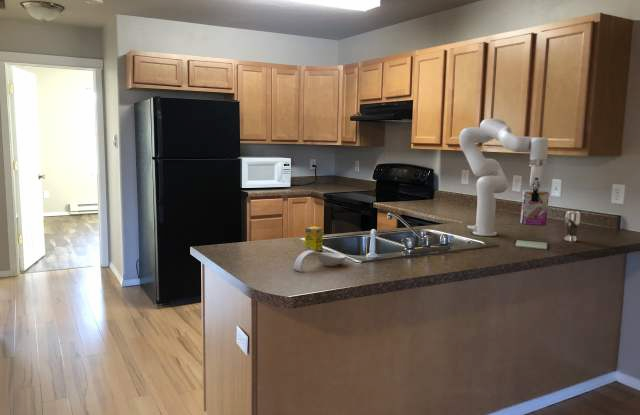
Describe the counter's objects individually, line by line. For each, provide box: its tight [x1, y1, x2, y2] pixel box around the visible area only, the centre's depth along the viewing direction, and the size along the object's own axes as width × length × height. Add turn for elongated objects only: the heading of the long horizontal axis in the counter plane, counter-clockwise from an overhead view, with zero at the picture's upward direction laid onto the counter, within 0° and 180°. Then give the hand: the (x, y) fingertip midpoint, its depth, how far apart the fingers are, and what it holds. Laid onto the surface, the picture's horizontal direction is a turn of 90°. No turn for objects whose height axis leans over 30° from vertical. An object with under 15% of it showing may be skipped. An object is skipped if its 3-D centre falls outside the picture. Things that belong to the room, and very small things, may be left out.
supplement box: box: [304, 225, 324, 253], centre depth 227 cm, size 6×6×11 cm
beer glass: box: [563, 210, 581, 243], centre depth 262 cm, size 7×7×15 cm
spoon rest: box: [293, 250, 347, 273], centre depth 202 cm, size 24×12×7 cm, turn 133°
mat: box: [514, 239, 548, 250], centre depth 251 cm, size 14×14×1 cm
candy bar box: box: [520, 189, 550, 227], centre depth 248 cm, size 11×5×16 cm, turn 78°
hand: (534, 200), depth 247 cm, fingers closed on candy bar box, 5 cm apart
